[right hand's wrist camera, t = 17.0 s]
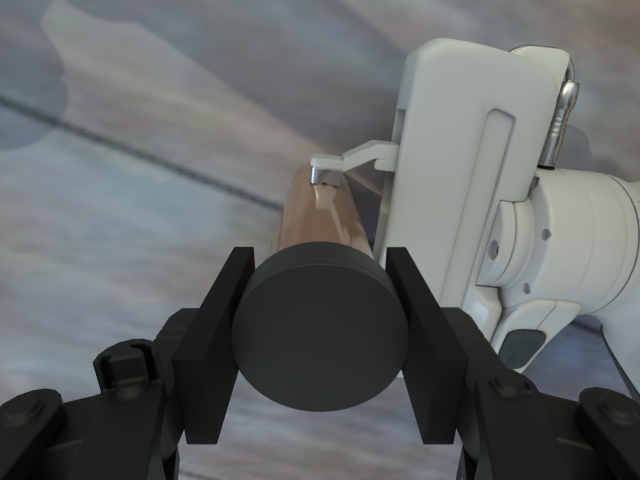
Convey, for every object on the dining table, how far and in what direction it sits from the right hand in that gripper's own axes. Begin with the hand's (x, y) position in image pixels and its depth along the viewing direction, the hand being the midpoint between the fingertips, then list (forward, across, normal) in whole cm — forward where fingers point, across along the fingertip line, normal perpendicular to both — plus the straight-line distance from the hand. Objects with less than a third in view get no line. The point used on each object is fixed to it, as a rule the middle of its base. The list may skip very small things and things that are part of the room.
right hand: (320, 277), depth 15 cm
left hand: (+8, -1, 0) cm, 8 cm away
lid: (-4, 0, 0) cm, 4 cm away
